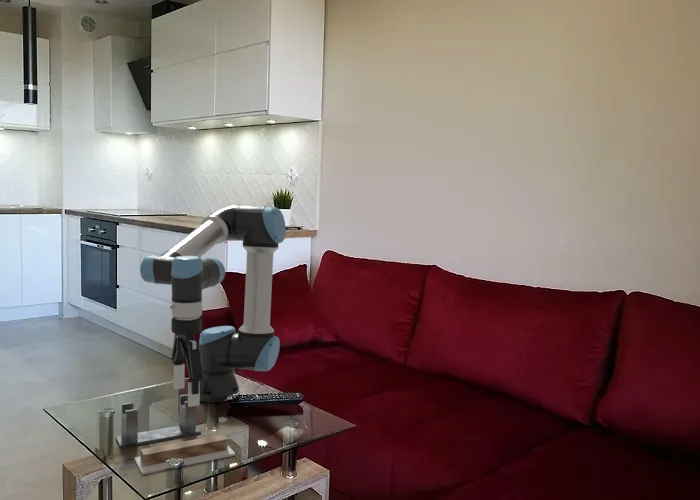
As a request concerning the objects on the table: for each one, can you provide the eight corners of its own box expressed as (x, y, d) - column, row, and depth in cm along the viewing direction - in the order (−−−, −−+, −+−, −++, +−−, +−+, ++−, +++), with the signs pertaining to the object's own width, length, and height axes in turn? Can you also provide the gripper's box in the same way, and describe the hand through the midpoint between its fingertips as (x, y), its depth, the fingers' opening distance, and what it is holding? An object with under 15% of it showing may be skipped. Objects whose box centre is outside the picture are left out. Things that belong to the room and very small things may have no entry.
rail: (223, 444, 167) (223, 433, 166) (227, 449, 164) (228, 438, 163) (140, 460, 156) (140, 449, 155) (143, 466, 152) (143, 454, 152)
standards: (194, 425, 180) (194, 393, 179) (200, 433, 175) (201, 400, 174) (116, 439, 169) (115, 404, 168) (120, 448, 163) (120, 412, 162)
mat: (223, 442, 170) (223, 440, 170) (235, 455, 162) (235, 453, 162) (134, 459, 157) (134, 457, 157) (142, 474, 150) (142, 472, 150)
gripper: (159, 308, 164) (159, 383, 167) (185, 329, 143) (185, 416, 145) (187, 306, 168) (187, 380, 170) (216, 326, 147) (215, 410, 149)
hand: (186, 396), depth 158 cm, fingers open, 13 cm apart
